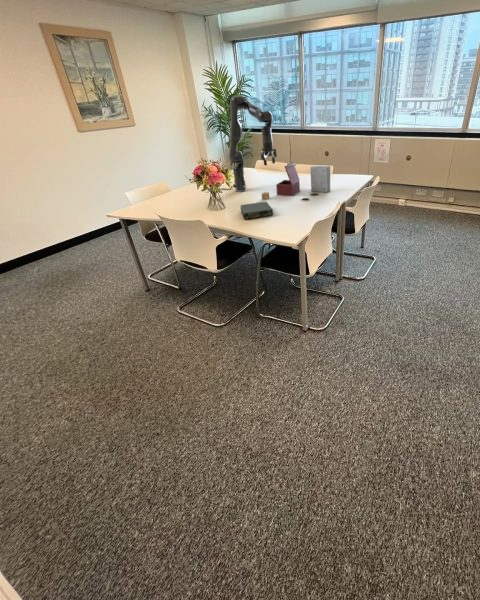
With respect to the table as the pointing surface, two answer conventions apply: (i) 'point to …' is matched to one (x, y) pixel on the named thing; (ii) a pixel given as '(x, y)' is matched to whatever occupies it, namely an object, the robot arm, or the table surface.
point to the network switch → (256, 210)
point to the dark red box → (287, 188)
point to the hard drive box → (320, 178)
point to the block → (265, 195)
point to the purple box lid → (292, 173)
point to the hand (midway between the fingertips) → (269, 164)
